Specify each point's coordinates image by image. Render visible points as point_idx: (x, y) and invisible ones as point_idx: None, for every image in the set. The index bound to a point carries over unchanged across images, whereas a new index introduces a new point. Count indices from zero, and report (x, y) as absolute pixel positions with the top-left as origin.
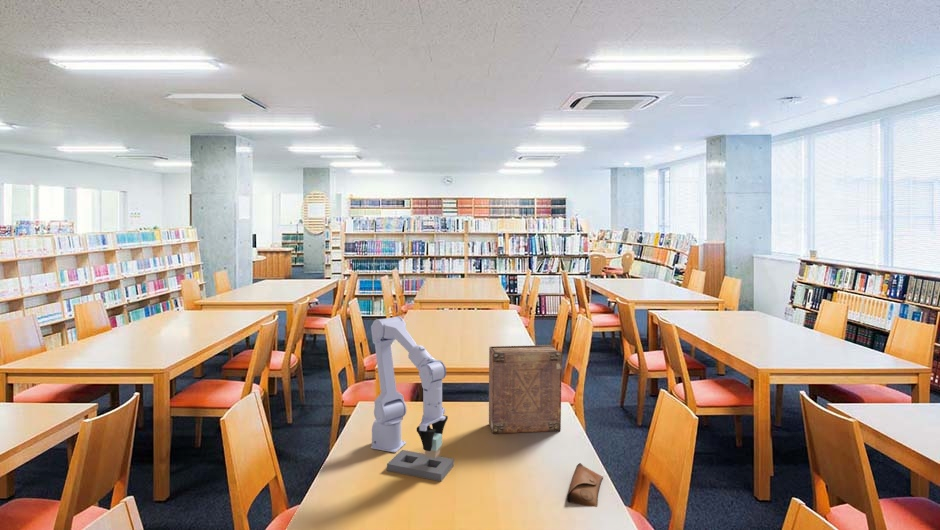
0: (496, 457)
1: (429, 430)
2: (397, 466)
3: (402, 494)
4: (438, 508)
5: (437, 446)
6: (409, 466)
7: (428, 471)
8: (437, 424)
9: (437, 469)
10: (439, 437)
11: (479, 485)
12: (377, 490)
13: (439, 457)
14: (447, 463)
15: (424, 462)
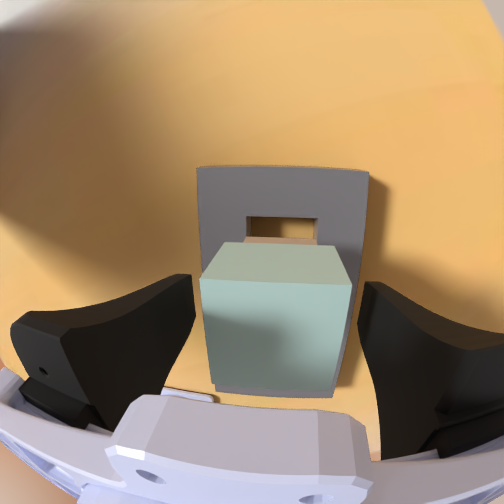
0: (93, 52)
1: (492, 395)
2: (340, 367)
3: (459, 277)
4: (498, 136)
5: (314, 254)
6: None
7: (360, 241)
8: (137, 373)
9: (331, 206)
10: (270, 278)
11: (325, 16)
12: None
13: (209, 242)
14: (254, 179)
15: None
